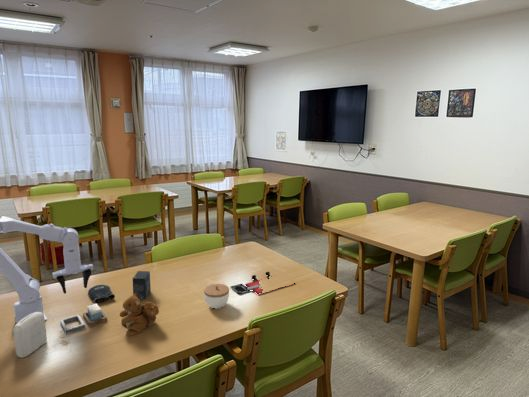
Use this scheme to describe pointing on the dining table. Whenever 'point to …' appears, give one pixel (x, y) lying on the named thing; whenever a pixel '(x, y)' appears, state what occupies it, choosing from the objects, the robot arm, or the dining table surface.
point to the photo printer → (29, 334)
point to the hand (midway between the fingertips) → (75, 289)
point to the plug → (94, 312)
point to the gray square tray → (72, 327)
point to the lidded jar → (216, 295)
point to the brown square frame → (91, 323)
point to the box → (141, 284)
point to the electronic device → (100, 293)
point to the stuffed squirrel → (138, 315)
